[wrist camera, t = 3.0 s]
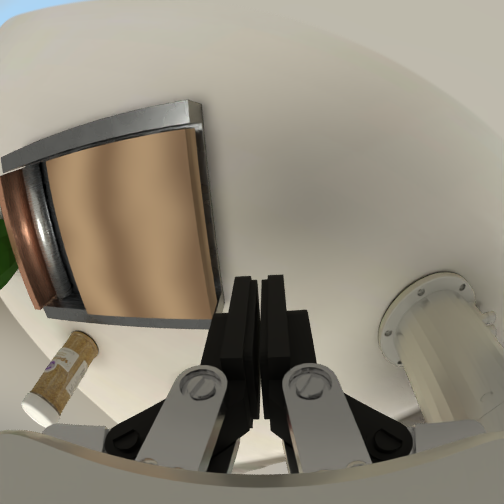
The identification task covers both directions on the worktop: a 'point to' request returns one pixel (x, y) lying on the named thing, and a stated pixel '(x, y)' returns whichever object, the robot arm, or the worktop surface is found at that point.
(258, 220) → the worktop surface
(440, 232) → the worktop surface
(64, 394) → the sprinkles bottle
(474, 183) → the worktop surface
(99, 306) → the slab
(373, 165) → the worktop surface
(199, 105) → the roller track
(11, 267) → the bell pepper
